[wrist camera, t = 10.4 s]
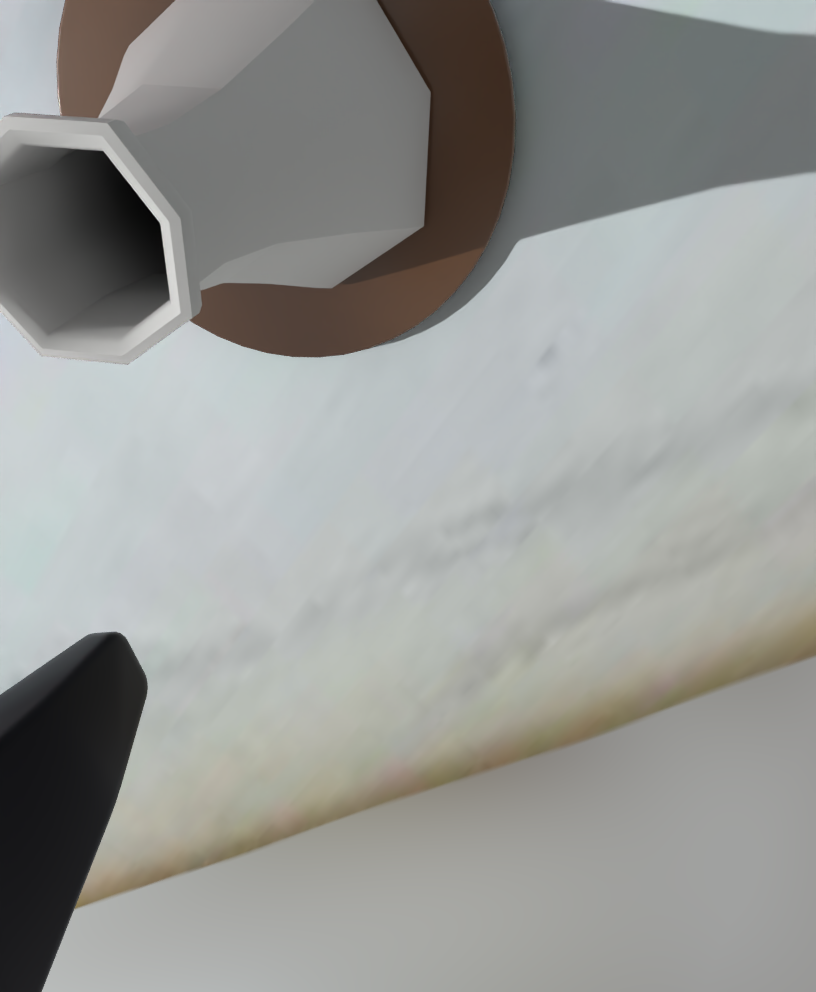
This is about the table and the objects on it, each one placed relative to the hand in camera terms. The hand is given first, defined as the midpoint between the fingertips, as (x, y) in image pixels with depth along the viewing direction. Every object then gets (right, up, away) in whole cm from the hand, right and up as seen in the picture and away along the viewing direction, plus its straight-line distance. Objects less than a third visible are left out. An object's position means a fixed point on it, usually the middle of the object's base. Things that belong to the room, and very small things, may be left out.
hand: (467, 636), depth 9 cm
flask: (-4, +10, +9) cm, 14 cm away
